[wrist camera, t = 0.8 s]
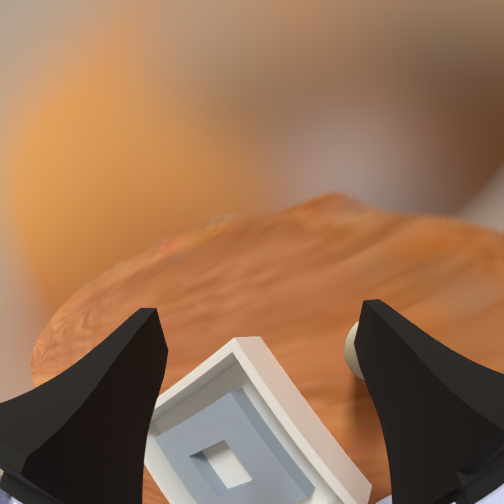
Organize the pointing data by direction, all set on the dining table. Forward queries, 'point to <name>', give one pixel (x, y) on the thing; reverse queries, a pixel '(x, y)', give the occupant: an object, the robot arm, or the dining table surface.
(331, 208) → the dining table surface
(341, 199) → the dining table surface
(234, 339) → the tray
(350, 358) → the peg
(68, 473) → the robot arm
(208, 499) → the bore plate
